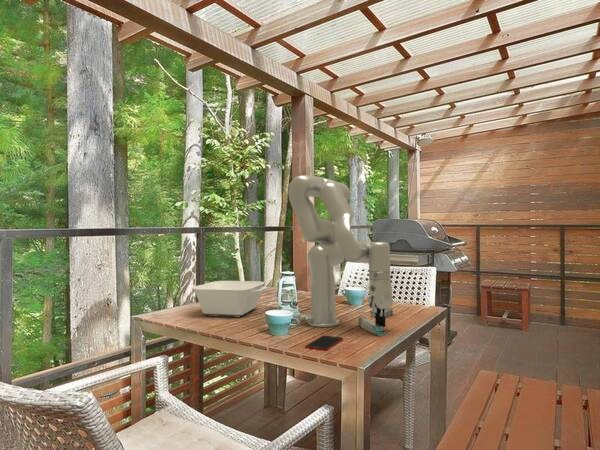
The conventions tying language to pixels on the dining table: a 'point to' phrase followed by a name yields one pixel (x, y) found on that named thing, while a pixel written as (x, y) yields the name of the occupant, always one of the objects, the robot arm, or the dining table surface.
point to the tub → (229, 297)
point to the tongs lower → (378, 333)
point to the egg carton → (388, 313)
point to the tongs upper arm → (372, 325)
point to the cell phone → (324, 343)
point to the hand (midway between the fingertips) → (380, 326)
